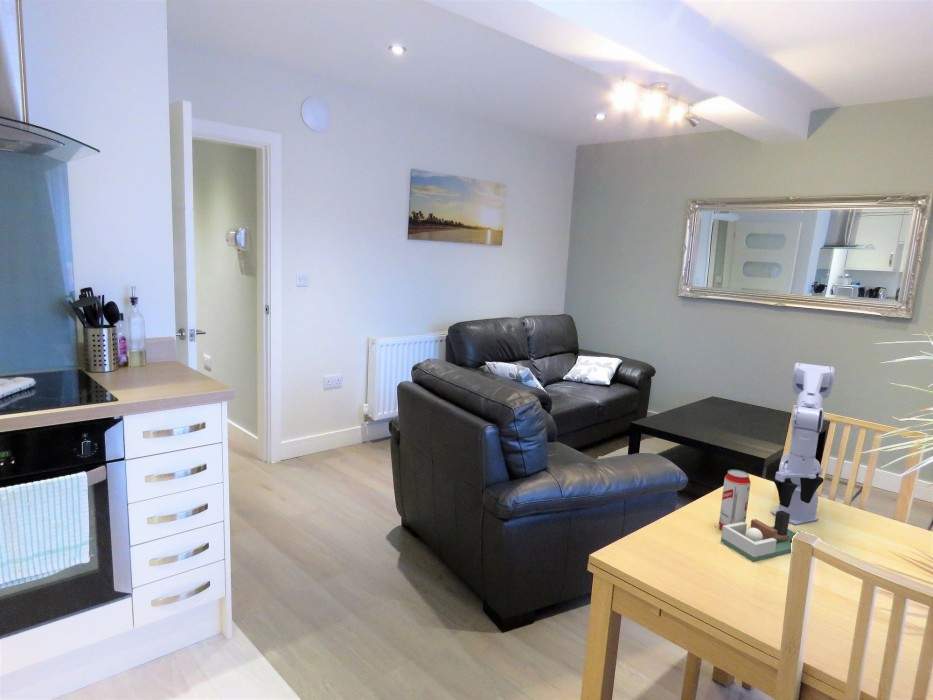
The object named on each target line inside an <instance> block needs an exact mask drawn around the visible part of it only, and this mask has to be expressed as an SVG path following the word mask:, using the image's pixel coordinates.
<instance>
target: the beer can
mask: <svg viewBox="0 0 933 700" xmlns="http://www.w3.org/2000/svg"><path fill="white" fill-rule="evenodd" d="M723 481H724V482H723V486H722V487H723V489H722V496H721V504H720V511H719V518H718V525H719V527H720V529H721V528H723V526H724V525H729V524H734V523H739V522H745V523H746V522H747V520H746V519H747V513H748V504H749V498H750V497H749V496H750V488H751V482H752V481H751V479H750V474H749V473H748V472H746V471H745V470H744V471H743V470H739V469H729V470H727V474H725V476H724V480H723Z"/></svg>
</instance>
